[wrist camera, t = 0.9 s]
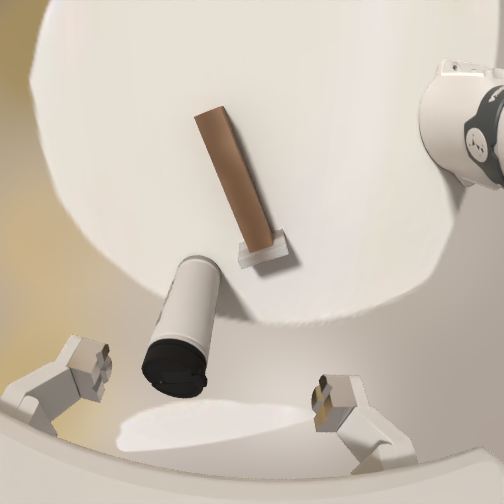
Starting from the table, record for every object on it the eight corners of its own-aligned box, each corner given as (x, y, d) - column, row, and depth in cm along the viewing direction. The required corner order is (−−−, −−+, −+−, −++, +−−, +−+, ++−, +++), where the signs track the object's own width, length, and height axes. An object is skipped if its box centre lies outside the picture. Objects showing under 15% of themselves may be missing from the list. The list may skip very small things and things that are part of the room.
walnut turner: (235, 101, 33) (232, 101, 29) (285, 236, 41) (288, 254, 37) (188, 120, 34) (179, 123, 30) (242, 250, 42) (241, 269, 38)
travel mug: (228, 286, 45) (216, 400, 27) (187, 295, 46) (156, 405, 28) (215, 249, 42) (191, 358, 24) (171, 260, 43) (126, 366, 25)
